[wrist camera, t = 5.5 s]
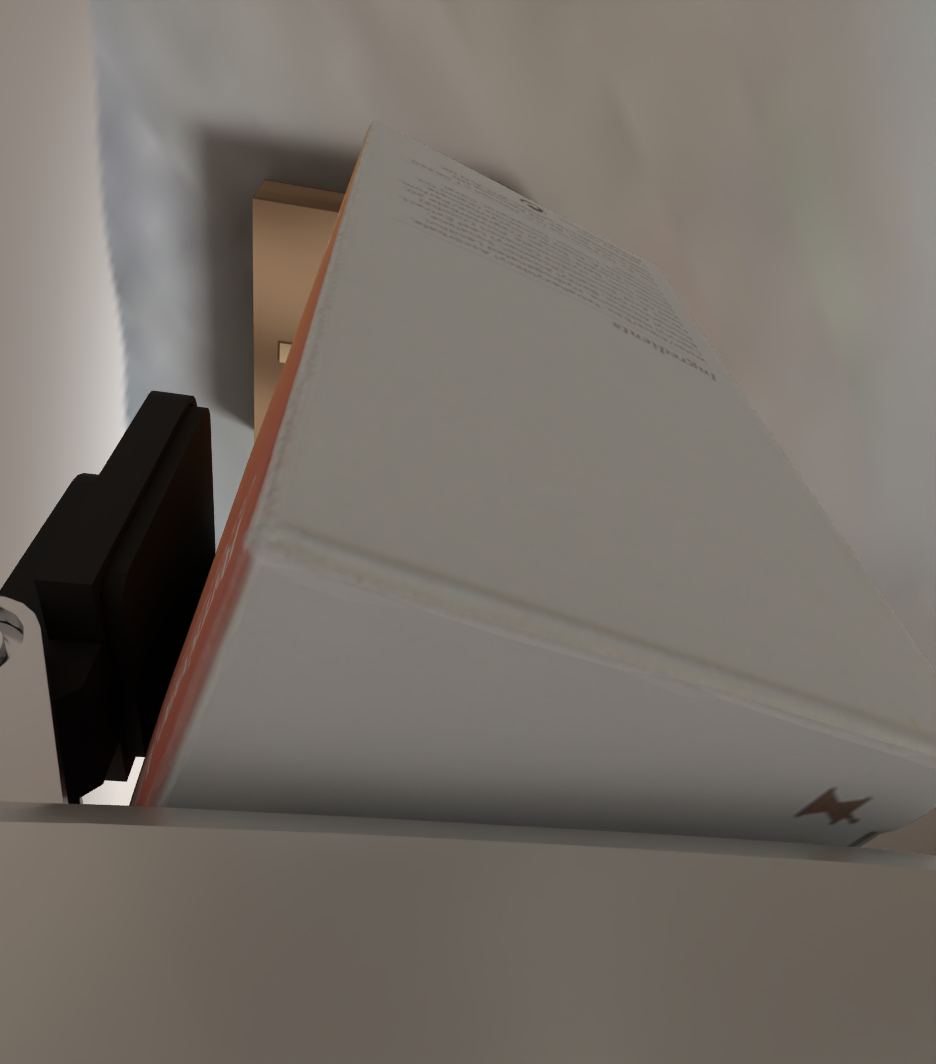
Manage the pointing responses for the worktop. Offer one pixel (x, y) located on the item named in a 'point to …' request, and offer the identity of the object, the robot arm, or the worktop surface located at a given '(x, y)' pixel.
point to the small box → (530, 559)
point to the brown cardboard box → (284, 273)
